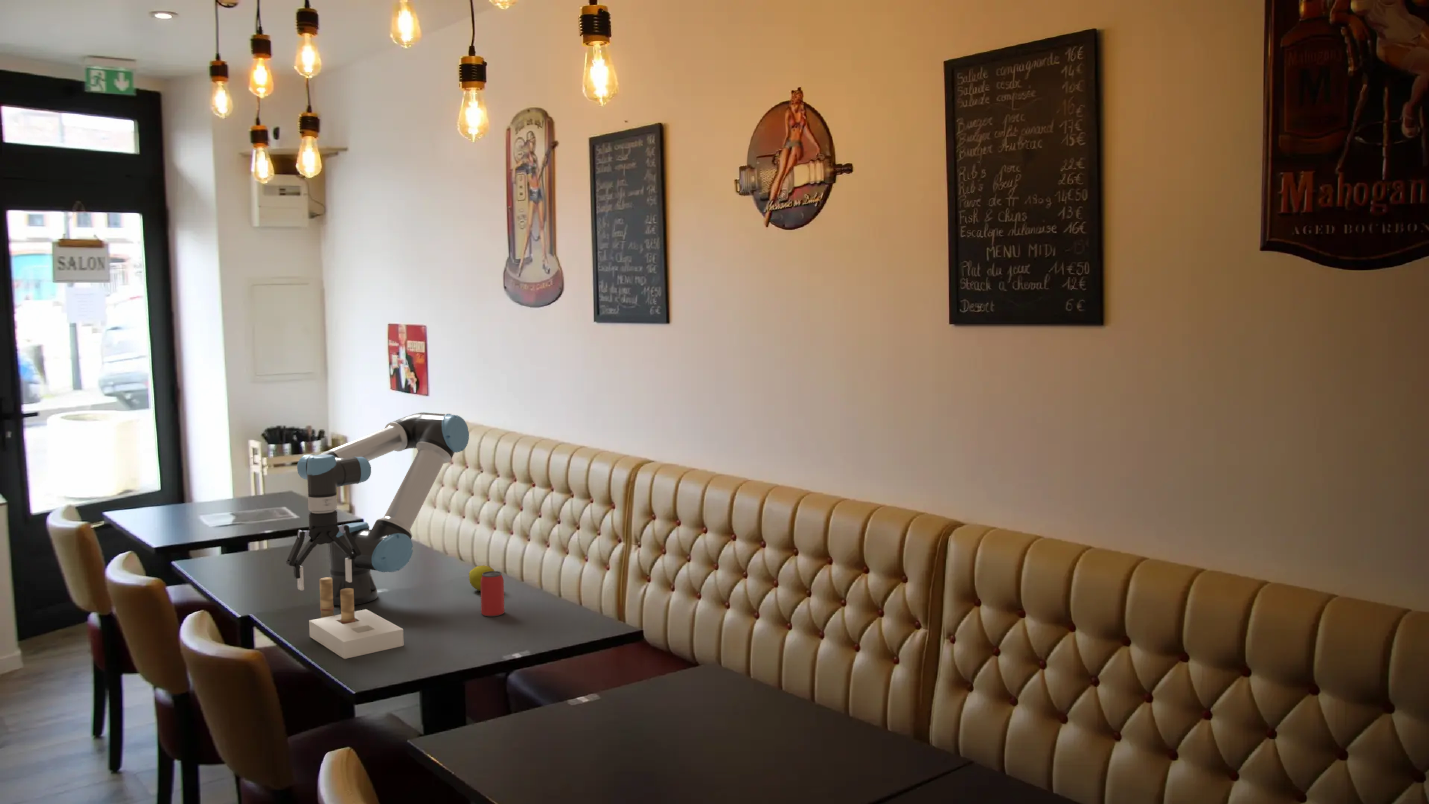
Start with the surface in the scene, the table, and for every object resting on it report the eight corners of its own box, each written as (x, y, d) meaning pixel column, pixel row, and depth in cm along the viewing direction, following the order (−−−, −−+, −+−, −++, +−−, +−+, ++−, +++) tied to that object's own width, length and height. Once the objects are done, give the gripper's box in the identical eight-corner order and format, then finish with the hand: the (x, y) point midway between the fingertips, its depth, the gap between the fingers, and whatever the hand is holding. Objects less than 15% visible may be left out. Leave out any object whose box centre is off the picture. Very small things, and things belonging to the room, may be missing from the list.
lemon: (503, 592, 341) (502, 566, 340) (481, 596, 336) (480, 571, 335) (485, 585, 349) (485, 560, 348) (463, 589, 344) (463, 564, 343)
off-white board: (366, 624, 308) (366, 609, 307) (403, 645, 289) (403, 629, 289) (309, 636, 297) (309, 620, 297) (344, 659, 279) (343, 641, 279)
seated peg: (352, 633, 300) (350, 587, 298) (357, 636, 297) (356, 590, 296) (339, 636, 297) (337, 589, 296) (344, 639, 295) (342, 592, 293)
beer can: (499, 617, 314) (498, 576, 313) (477, 616, 315) (476, 575, 314) (507, 611, 320) (507, 571, 319) (486, 610, 321) (485, 570, 320)
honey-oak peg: (331, 621, 311) (329, 576, 310) (336, 624, 308) (334, 579, 307) (318, 623, 309) (317, 578, 307) (323, 626, 306) (321, 581, 305)
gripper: (282, 518, 294) (284, 595, 296) (371, 507, 310) (373, 580, 312) (272, 514, 300) (275, 590, 302) (360, 503, 316) (362, 575, 318)
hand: (325, 585), depth 307 cm, fingers open, 13 cm apart
